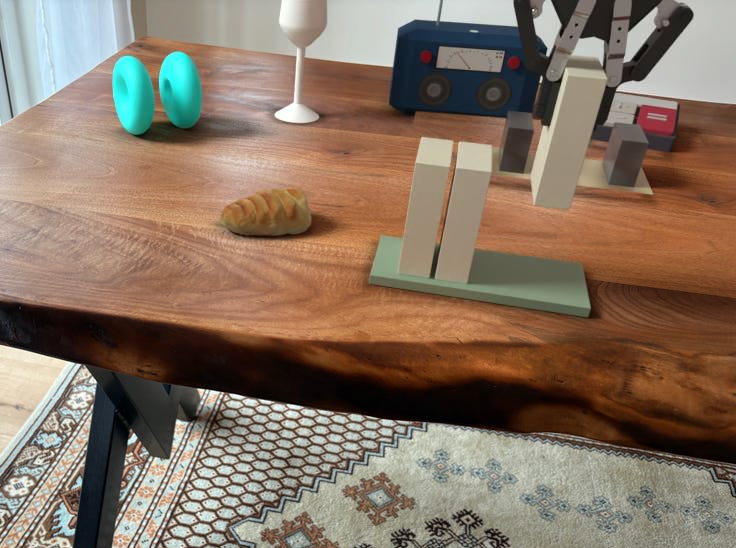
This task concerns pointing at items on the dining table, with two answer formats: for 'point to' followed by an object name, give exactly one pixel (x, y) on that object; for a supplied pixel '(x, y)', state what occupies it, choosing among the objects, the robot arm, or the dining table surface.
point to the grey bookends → (610, 173)
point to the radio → (461, 69)
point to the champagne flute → (301, 48)
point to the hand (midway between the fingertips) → (567, 125)
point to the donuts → (175, 92)
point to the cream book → (568, 133)
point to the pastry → (268, 213)
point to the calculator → (643, 119)
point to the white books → (468, 242)
